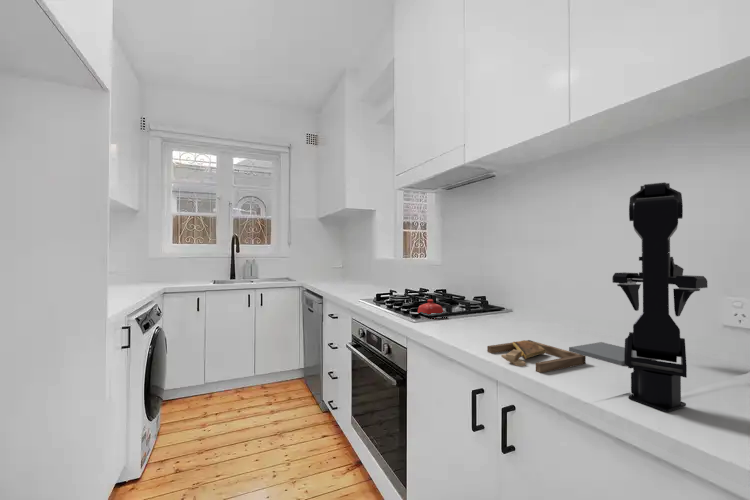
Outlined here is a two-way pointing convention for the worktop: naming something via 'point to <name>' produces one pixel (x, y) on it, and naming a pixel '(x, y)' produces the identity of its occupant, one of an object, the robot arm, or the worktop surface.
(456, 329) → the worktop surface
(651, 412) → the worktop surface
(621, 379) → the worktop surface
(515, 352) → the upper oak offcut
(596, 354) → the charcoal mat
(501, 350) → the walnut open-sided frame
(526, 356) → the shard
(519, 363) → the lower oak offcut
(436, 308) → the butter dish
